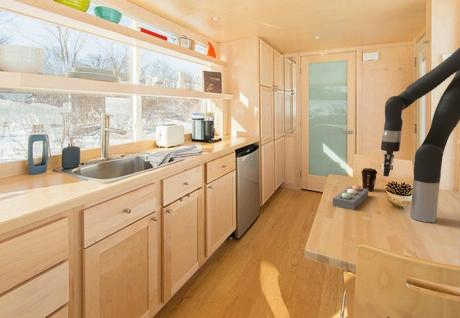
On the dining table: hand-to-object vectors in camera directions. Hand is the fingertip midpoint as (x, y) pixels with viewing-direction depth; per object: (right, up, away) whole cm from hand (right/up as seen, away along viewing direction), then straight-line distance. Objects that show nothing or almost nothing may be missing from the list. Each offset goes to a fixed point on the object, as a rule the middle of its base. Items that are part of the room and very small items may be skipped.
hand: (386, 174), depth 126 cm
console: (-9, -15, +18) cm, 25 cm away
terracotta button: (-3, -11, +24) cm, 26 cm away
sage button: (-15, -13, +10) cm, 22 cm away
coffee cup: (+10, -12, +37) cm, 40 cm away
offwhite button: (-9, -12, +17) cm, 23 cm away
